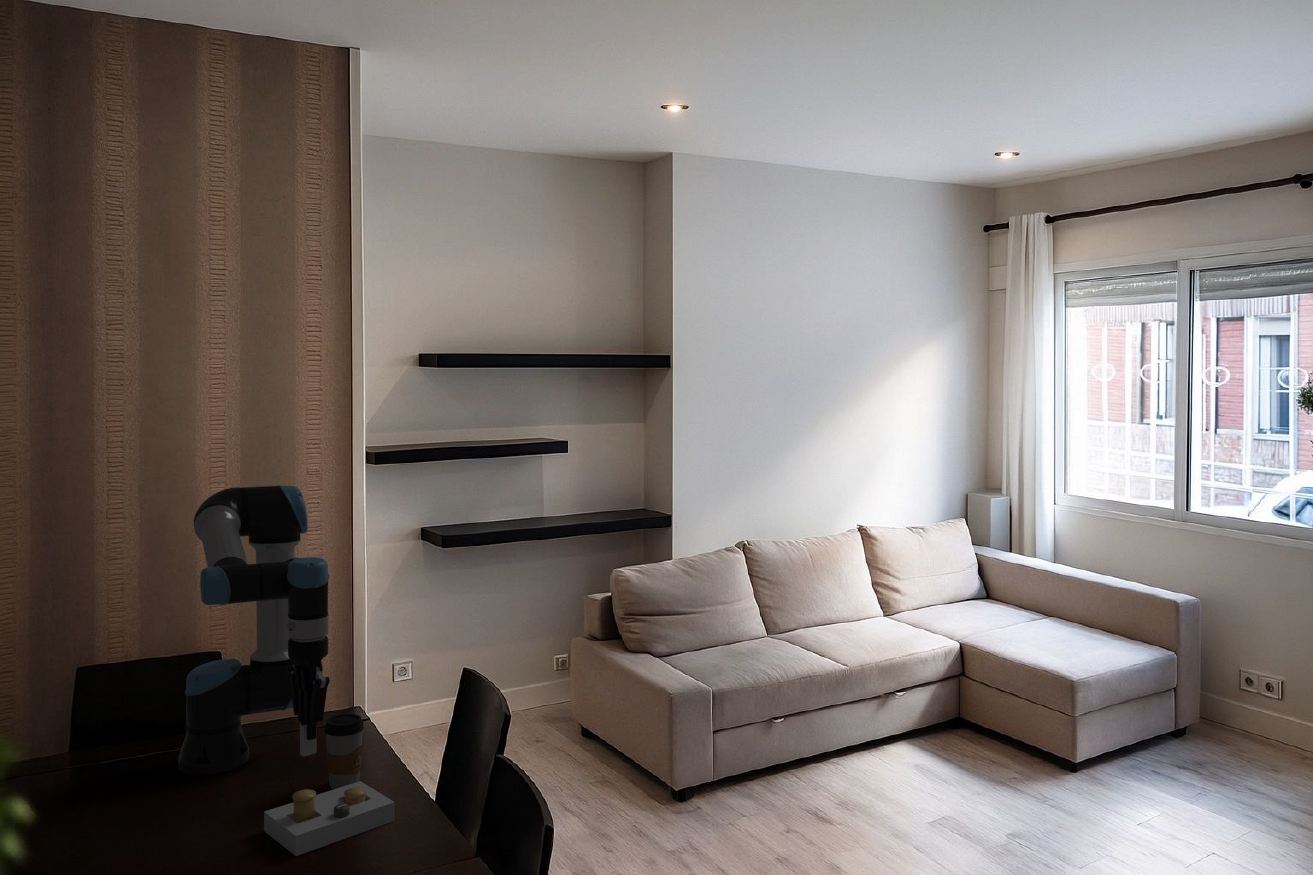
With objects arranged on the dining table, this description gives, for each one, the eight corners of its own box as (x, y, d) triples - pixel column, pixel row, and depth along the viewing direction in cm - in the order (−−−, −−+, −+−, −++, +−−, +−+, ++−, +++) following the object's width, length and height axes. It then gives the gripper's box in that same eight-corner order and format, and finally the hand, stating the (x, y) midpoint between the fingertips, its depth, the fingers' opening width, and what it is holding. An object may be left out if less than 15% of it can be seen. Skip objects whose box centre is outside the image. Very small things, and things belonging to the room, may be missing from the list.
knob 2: (340, 809, 196) (340, 791, 196) (359, 803, 199) (359, 784, 199) (350, 816, 193) (350, 797, 193) (370, 810, 196) (370, 791, 196)
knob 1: (288, 813, 188) (288, 793, 188) (309, 806, 191) (309, 787, 191) (298, 821, 185) (298, 801, 185) (319, 813, 188) (319, 794, 188)
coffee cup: (351, 794, 207) (351, 727, 206) (317, 790, 209) (317, 724, 208) (370, 779, 215) (370, 714, 214) (337, 775, 217) (337, 711, 216)
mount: (264, 830, 190) (264, 802, 189) (360, 799, 205) (360, 772, 205) (296, 856, 180) (295, 826, 180) (394, 820, 195) (394, 793, 195)
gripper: (274, 633, 188) (274, 749, 190) (305, 647, 180) (306, 768, 181) (310, 627, 194) (310, 739, 195) (342, 640, 185) (342, 757, 186)
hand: (308, 753), depth 188 cm, fingers closed
